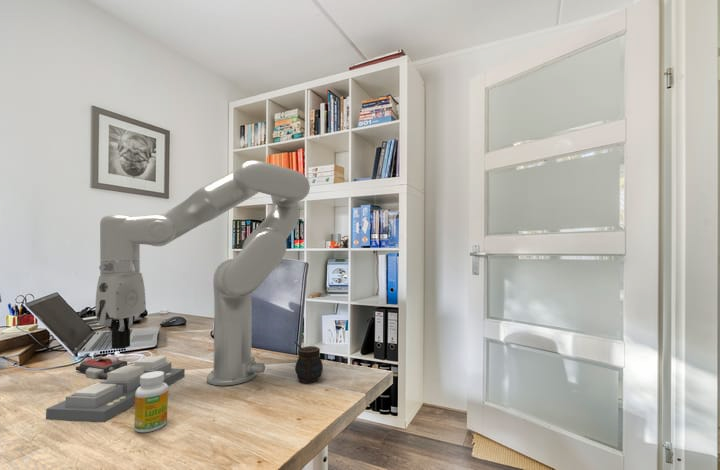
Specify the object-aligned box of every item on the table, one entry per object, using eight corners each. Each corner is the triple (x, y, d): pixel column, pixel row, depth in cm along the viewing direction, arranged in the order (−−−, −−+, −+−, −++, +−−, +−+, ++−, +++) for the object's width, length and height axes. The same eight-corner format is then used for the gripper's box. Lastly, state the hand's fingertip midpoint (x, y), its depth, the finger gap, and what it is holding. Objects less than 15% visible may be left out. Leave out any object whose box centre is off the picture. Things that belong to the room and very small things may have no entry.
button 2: (143, 374, 82) (143, 366, 82) (126, 382, 77) (127, 373, 77) (124, 374, 82) (125, 365, 82) (107, 381, 77) (107, 372, 77)
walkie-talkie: (66, 375, 94) (115, 385, 87) (67, 359, 94) (115, 367, 87) (100, 365, 102) (147, 373, 95) (100, 351, 102) (147, 357, 95)
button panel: (184, 376, 91) (184, 361, 91) (103, 422, 66) (104, 401, 66) (140, 374, 92) (141, 360, 93) (45, 418, 68) (46, 398, 68)
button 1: (166, 364, 90) (166, 356, 90) (152, 370, 85) (152, 362, 85) (148, 363, 90) (149, 356, 90) (134, 369, 85) (134, 361, 85)
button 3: (115, 393, 74) (116, 384, 74) (95, 403, 69) (95, 393, 69) (95, 392, 74) (95, 383, 74) (73, 402, 69) (73, 392, 69)
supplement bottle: (142, 436, 61) (144, 381, 61) (128, 428, 64) (130, 376, 64) (172, 423, 65) (173, 372, 66) (158, 416, 68) (159, 368, 69)
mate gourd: (323, 384, 84) (323, 343, 85) (293, 386, 83) (293, 345, 84) (322, 374, 92) (322, 337, 92) (294, 376, 90) (294, 338, 91)
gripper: (109, 269, 71) (110, 357, 70) (157, 266, 86) (158, 338, 85) (76, 271, 71) (76, 358, 70) (129, 267, 86) (130, 339, 85)
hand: (121, 347), depth 78 cm, fingers closed
